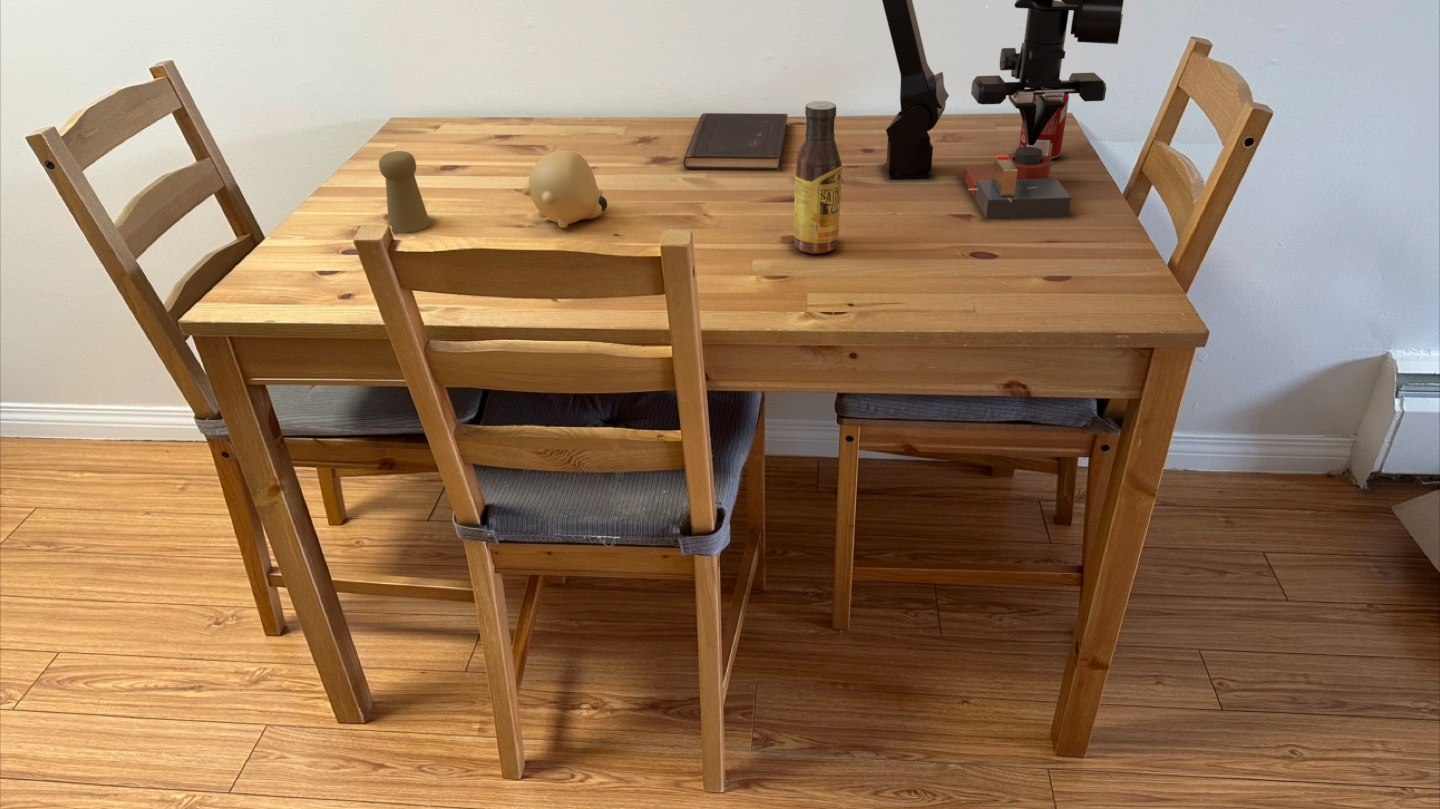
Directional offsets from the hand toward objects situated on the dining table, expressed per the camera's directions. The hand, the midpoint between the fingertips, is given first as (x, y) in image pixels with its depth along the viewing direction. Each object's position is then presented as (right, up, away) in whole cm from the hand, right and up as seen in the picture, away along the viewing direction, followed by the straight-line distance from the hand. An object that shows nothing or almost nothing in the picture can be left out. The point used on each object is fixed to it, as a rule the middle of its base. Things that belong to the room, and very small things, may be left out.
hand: (1030, 144), depth 162 cm
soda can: (+6, +1, +14) cm, 15 cm away
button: (0, -2, +2) cm, 3 cm away
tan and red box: (-6, -8, -6) cm, 12 cm away
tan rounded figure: (-70, -13, -4) cm, 72 cm away
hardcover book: (-45, +5, +22) cm, 50 cm away
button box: (-3, -6, +3) cm, 7 cm away
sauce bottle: (-34, -18, -14) cm, 41 cm away
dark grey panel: (-4, -11, -4) cm, 12 cm away
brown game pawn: (-94, -13, -4) cm, 95 cm away
